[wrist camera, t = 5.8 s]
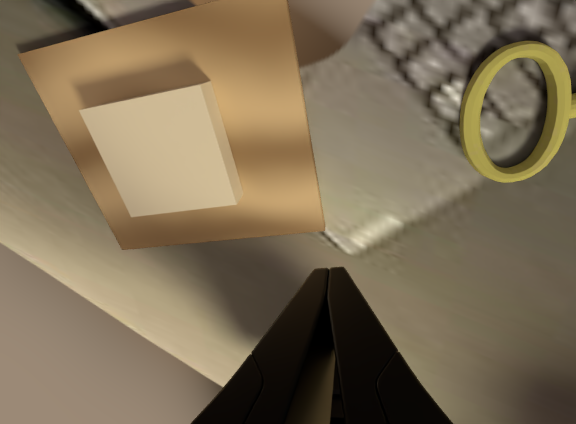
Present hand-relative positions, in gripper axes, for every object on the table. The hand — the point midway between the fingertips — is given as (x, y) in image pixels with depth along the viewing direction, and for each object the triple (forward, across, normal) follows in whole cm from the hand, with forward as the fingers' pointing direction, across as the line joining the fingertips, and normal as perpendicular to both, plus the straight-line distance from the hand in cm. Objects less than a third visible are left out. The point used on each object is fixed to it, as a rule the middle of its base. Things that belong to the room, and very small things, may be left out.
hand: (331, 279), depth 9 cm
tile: (+10, +6, -2) cm, 12 cm away
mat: (+12, +9, -2) cm, 15 cm away
